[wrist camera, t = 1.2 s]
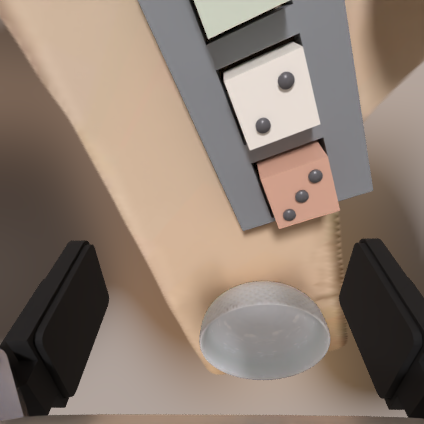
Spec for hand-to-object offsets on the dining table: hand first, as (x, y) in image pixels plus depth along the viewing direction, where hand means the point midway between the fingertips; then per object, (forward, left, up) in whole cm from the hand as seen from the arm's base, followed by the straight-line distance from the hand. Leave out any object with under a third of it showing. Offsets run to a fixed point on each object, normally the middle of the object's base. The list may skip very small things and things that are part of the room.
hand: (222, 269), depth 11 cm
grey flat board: (-4, 0, -22) cm, 23 cm away
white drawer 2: (-4, 0, -21) cm, 21 cm away
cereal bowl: (+6, +29, -23) cm, 37 cm away
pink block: (-4, +9, -21) cm, 23 cm away
